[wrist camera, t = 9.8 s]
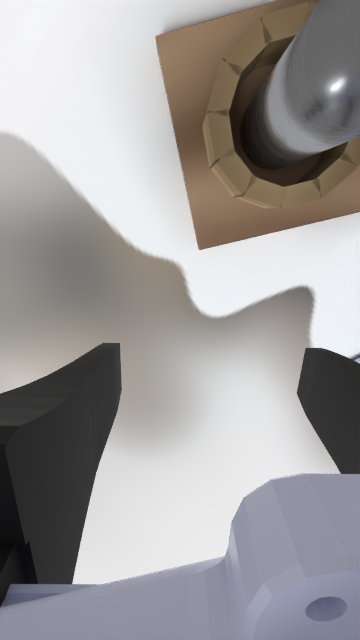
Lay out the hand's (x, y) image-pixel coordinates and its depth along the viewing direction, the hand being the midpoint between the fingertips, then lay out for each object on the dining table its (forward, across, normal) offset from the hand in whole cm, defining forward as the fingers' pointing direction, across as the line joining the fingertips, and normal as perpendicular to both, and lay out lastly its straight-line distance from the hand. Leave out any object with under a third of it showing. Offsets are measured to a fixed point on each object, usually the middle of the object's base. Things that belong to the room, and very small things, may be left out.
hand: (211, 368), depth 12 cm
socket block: (+10, -4, -10) cm, 15 cm away
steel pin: (+9, -4, -10) cm, 14 cm away
